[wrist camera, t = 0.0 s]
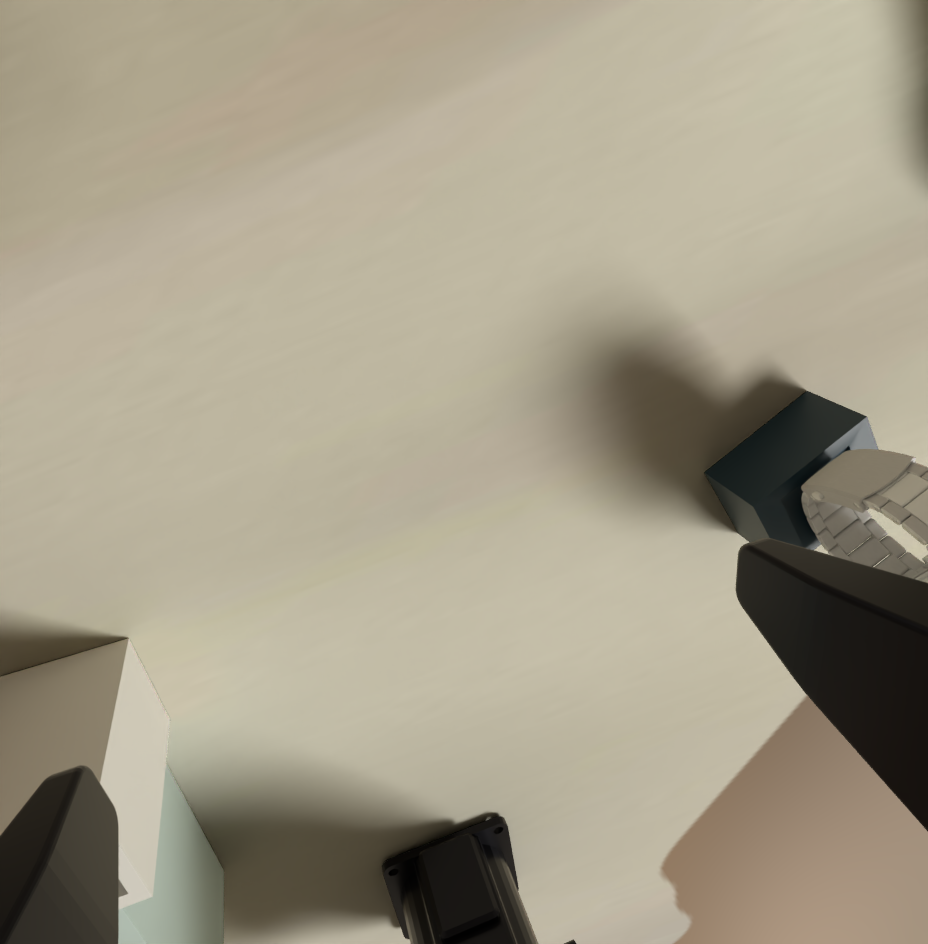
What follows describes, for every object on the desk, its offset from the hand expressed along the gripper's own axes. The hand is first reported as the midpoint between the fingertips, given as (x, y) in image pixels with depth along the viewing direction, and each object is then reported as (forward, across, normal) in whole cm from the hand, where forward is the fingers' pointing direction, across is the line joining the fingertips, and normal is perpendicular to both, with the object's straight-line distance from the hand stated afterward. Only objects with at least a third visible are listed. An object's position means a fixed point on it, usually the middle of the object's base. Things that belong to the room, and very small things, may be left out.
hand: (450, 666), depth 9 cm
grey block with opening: (+15, +11, +15) cm, 24 cm away
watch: (+15, -18, +9) cm, 25 cm away
